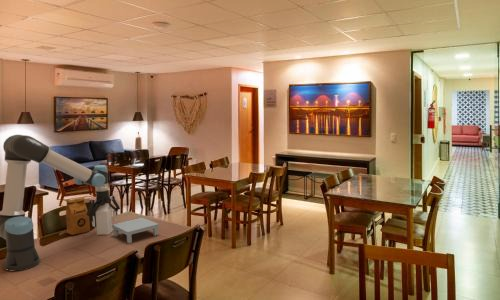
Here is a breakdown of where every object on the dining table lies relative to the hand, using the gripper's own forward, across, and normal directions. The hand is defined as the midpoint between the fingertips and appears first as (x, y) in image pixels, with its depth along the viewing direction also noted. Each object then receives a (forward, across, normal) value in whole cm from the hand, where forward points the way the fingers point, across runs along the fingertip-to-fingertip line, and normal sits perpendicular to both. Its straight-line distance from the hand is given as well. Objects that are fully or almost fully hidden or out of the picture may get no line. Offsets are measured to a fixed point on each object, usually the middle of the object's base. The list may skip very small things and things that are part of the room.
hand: (104, 223), depth 228 cm
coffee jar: (+6, +5, +21) cm, 22 cm away
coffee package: (+6, -11, +13) cm, 18 cm away
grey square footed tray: (+6, +11, -19) cm, 23 cm away
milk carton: (+6, 0, 0) cm, 6 cm away
